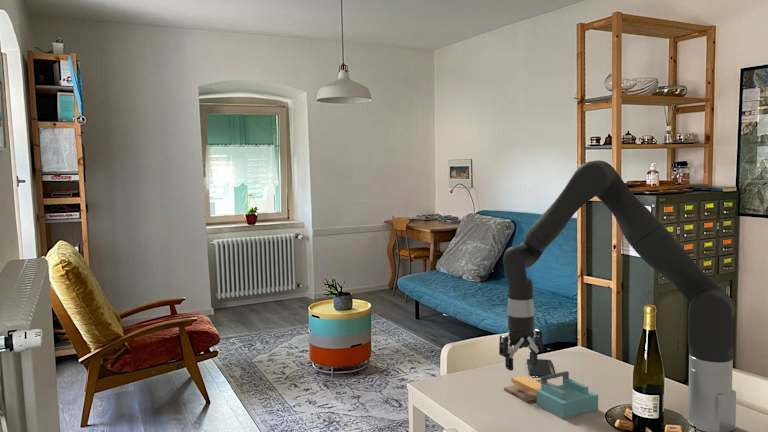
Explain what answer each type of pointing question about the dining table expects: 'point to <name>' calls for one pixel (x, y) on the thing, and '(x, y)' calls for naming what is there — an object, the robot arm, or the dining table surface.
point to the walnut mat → (523, 392)
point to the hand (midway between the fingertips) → (521, 367)
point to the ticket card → (527, 383)
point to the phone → (540, 368)
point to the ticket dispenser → (566, 397)
